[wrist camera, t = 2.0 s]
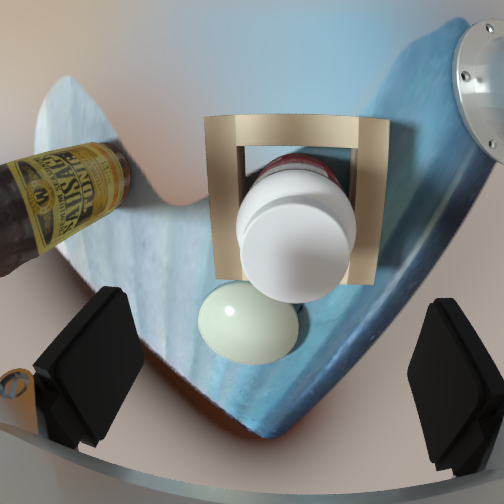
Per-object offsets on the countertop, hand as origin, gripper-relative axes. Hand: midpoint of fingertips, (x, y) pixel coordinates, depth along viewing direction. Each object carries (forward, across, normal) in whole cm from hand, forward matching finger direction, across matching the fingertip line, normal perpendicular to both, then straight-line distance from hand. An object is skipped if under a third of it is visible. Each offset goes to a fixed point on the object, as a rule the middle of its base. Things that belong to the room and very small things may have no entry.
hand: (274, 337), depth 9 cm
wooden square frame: (+16, -1, 0) cm, 16 cm away
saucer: (+16, +3, +12) cm, 20 cm away
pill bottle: (+16, -1, 0) cm, 16 cm away
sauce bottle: (+16, +15, -2) cm, 22 cm away
